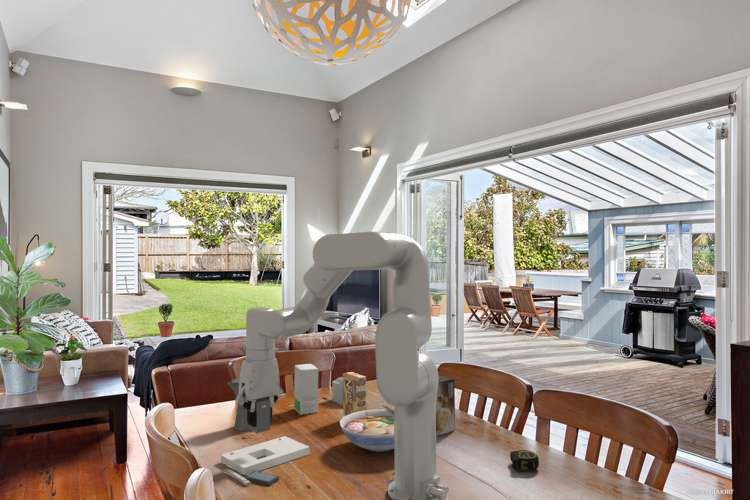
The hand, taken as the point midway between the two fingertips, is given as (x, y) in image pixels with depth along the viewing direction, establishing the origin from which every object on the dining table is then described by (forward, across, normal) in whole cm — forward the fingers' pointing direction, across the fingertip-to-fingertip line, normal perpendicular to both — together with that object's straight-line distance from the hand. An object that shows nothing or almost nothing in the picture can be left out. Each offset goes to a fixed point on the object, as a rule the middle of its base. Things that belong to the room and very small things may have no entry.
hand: (259, 422), depth 138 cm
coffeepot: (+11, -13, -26) cm, 31 cm away
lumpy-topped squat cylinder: (+10, -54, -26) cm, 61 cm away
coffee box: (+10, -51, +19) cm, 55 cm away
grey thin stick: (+10, +10, +6) cm, 15 cm away
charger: (+2, 0, 0) cm, 2 cm away
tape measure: (+9, -45, +51) cm, 69 cm away
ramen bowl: (+10, -29, +16) cm, 35 cm away
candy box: (+10, -39, -6) cm, 41 cm away
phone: (+10, +6, +11) cm, 16 cm away
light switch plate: (+10, -2, 0) cm, 10 cm away
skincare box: (+11, -35, -27) cm, 46 cm away
